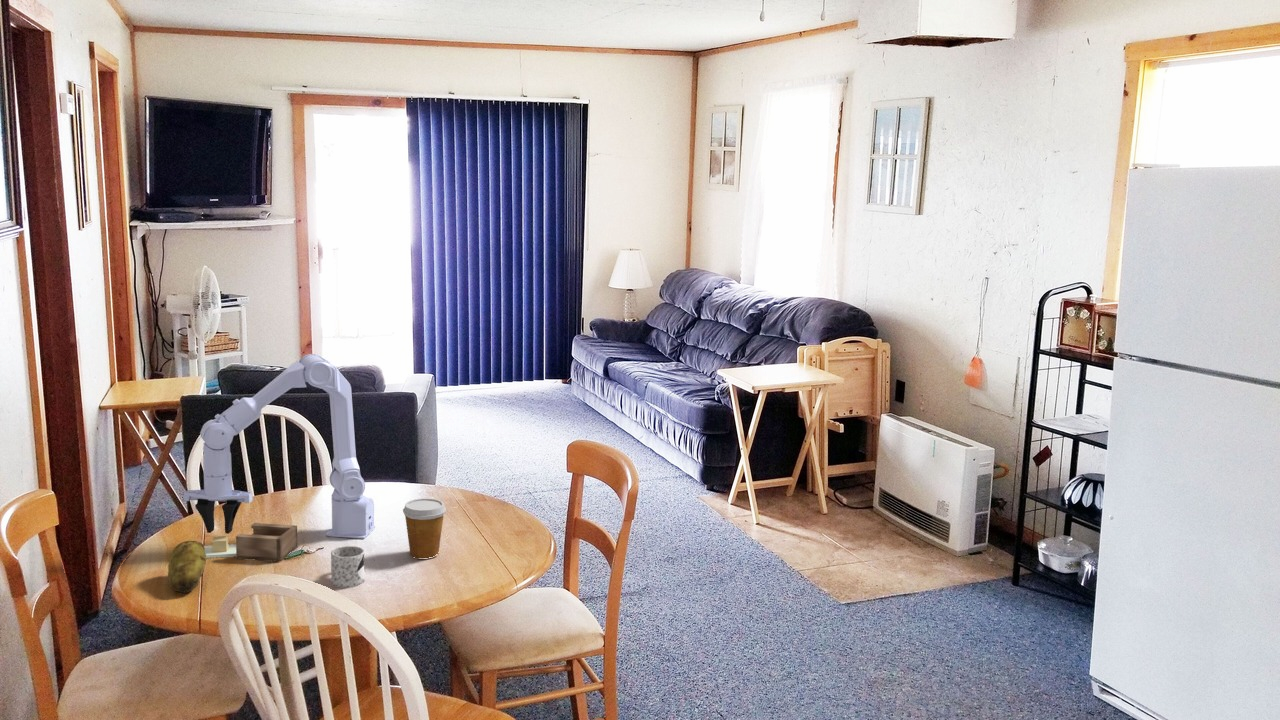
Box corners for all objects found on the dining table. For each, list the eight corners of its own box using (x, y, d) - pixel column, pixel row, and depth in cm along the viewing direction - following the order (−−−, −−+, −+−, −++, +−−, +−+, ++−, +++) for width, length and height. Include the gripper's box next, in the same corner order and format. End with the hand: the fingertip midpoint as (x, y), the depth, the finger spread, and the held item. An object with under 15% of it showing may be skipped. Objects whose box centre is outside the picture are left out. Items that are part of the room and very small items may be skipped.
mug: (365, 586, 201) (365, 555, 200) (332, 589, 199) (331, 558, 198) (361, 568, 210) (361, 539, 209) (329, 571, 208) (329, 542, 207)
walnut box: (297, 547, 221) (297, 525, 220) (280, 561, 212) (280, 539, 211) (255, 544, 222) (254, 522, 221) (236, 558, 213) (235, 536, 212)
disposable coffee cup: (430, 544, 226) (431, 495, 224) (453, 555, 220) (454, 505, 218) (394, 553, 220) (394, 503, 218) (417, 565, 213) (417, 513, 211)
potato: (152, 596, 192) (150, 558, 191) (179, 571, 205) (177, 535, 203) (194, 597, 192) (193, 559, 191) (219, 572, 205) (218, 536, 204)
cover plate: (241, 548, 220) (240, 533, 219) (237, 558, 214) (237, 542, 214) (203, 551, 218) (202, 535, 217) (198, 560, 212) (198, 544, 211)
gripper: (257, 469, 219) (258, 526, 221) (193, 467, 218) (195, 524, 221) (244, 478, 212) (246, 537, 214) (178, 476, 211) (181, 535, 214)
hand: (219, 531), depth 217 cm, fingers open, 3 cm apart
